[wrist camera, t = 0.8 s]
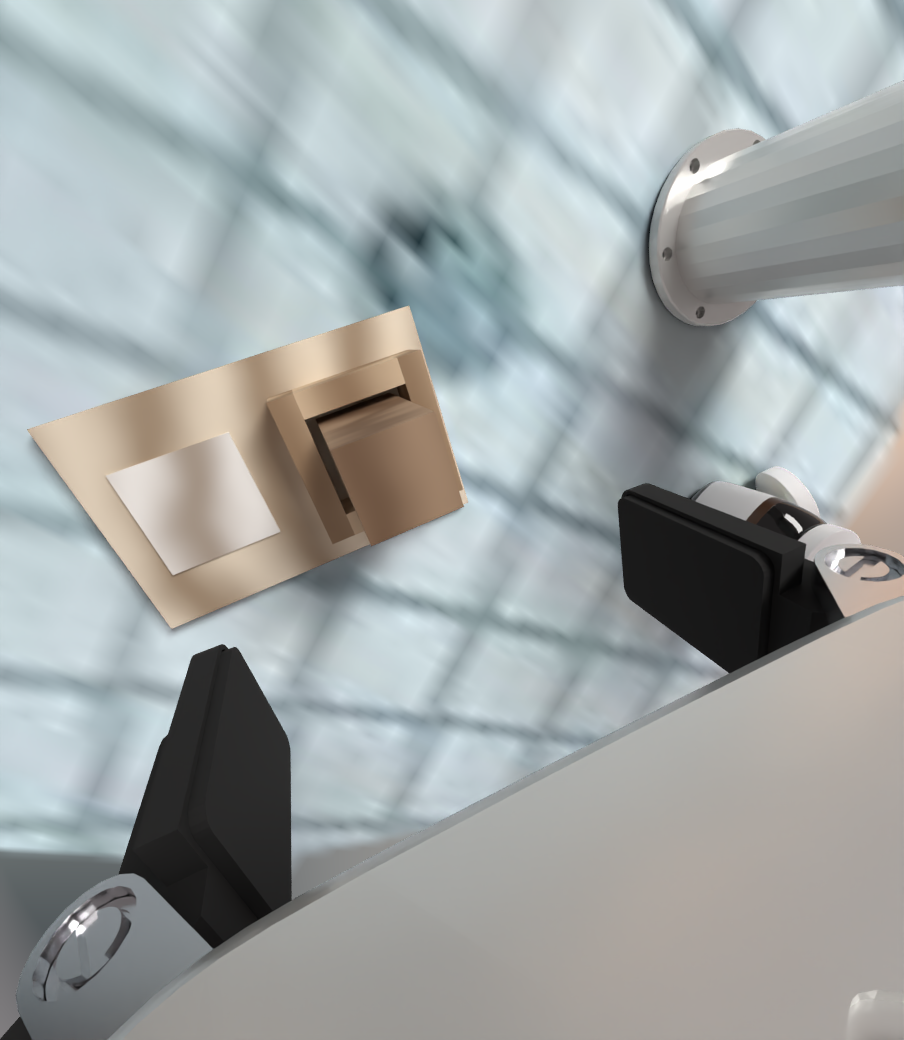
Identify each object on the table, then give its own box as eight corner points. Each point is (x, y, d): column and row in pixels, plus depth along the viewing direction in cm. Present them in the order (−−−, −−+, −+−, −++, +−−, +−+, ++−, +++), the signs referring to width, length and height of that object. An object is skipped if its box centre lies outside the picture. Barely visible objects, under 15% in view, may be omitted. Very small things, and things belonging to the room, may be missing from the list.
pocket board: (405, 306, 29) (422, 300, 25) (463, 498, 35) (483, 515, 31) (35, 426, 25) (-6, 439, 21) (174, 620, 31) (160, 656, 27)
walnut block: (388, 392, 29) (434, 411, 21) (413, 462, 32) (463, 506, 23) (315, 418, 28) (330, 450, 20) (345, 489, 31) (371, 546, 22)
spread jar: (651, 533, 43) (767, 591, 33) (721, 429, 42) (865, 455, 31) (718, 576, 49) (835, 638, 38) (781, 485, 47) (921, 524, 37)
